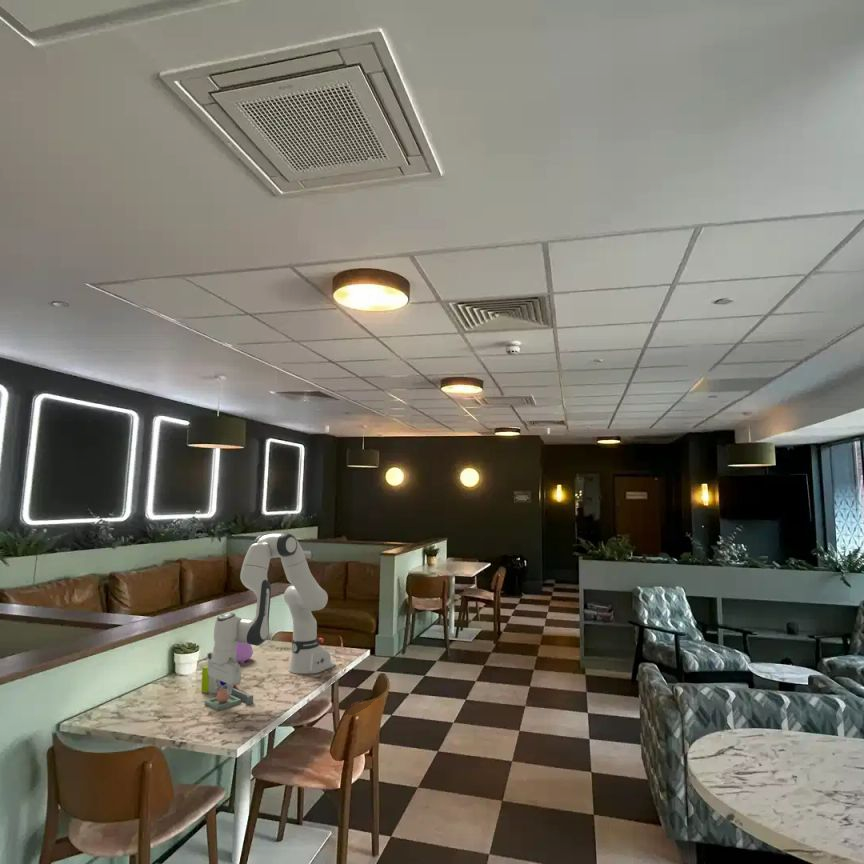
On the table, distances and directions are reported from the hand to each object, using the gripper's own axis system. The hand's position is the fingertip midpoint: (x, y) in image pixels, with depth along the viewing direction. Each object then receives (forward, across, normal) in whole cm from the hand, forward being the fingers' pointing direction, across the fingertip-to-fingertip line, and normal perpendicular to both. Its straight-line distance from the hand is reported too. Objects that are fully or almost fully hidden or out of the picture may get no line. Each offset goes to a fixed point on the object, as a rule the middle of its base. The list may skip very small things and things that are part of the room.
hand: (223, 691), depth 224 cm
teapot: (+5, +48, -34) cm, 59 cm away
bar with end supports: (+5, +1, -7) cm, 8 cm away
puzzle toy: (+5, +18, -8) cm, 20 cm away
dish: (+5, 0, 0) cm, 5 cm away
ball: (+2, 0, 0) cm, 2 cm away
